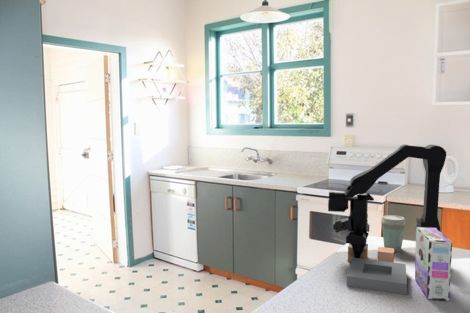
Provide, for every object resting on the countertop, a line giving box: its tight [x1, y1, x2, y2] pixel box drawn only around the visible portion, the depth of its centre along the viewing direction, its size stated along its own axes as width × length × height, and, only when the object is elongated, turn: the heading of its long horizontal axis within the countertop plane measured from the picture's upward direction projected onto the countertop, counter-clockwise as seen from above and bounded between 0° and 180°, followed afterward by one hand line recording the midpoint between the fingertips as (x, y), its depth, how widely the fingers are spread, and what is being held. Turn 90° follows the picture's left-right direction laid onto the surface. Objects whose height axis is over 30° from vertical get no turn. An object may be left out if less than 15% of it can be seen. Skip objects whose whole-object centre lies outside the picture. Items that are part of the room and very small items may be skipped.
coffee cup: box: [380, 214, 407, 252], centre depth 144 cm, size 8×8×12 cm
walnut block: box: [347, 243, 369, 263], centre depth 134 cm, size 6×6×5 cm
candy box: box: [414, 226, 453, 302], centre depth 109 cm, size 14×6×16 cm, turn 168°
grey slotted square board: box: [346, 258, 408, 295], centre depth 117 cm, size 16×16×3 cm
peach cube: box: [376, 246, 395, 263], centre depth 129 cm, size 5×5×5 cm
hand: (357, 256), depth 134 cm, fingers closed on walnut block, 6 cm apart
